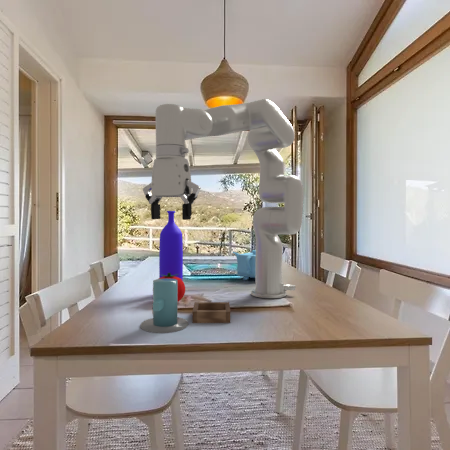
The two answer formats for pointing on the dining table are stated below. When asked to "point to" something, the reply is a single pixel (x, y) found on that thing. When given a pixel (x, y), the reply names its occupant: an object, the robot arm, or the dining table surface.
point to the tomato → (180, 284)
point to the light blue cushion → (246, 264)
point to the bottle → (171, 249)
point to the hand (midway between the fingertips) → (170, 219)
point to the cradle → (211, 312)
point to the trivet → (149, 327)
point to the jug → (165, 302)
